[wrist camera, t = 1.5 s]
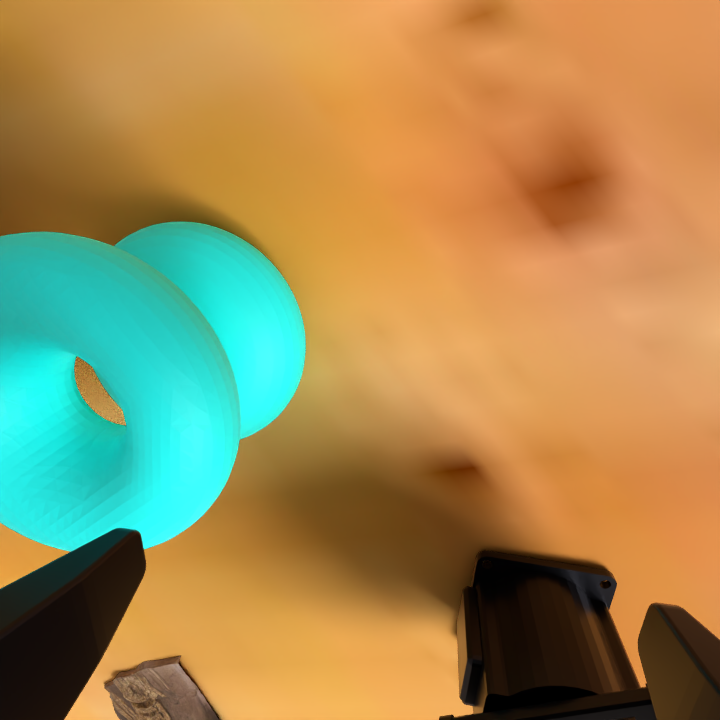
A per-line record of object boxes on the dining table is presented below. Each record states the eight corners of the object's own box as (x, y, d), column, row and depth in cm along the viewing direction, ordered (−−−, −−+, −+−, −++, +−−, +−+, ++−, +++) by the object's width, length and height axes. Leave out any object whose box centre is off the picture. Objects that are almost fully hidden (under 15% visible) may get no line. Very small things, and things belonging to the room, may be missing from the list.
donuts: (58, 620, 15) (-187, 377, 13) (206, 458, 24) (74, 304, 22) (289, 484, 12) (3, 140, 10) (356, 358, 21) (215, 170, 19)
